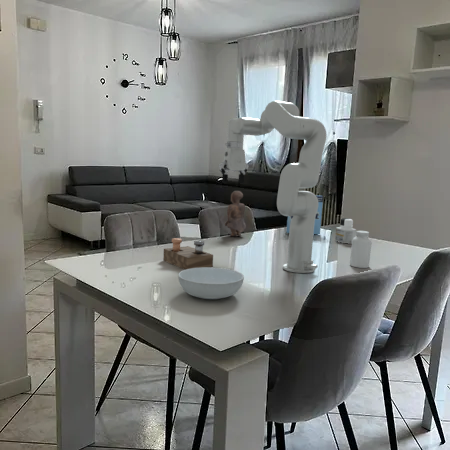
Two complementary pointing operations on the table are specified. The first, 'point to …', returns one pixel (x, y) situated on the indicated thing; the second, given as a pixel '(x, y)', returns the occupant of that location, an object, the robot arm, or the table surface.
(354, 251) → the pill bottle
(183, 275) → the serving bowl
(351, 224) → the container
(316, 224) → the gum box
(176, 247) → the rust plug
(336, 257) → the table surface
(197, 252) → the plug
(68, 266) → the table surface
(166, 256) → the block
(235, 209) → the clay figurine
